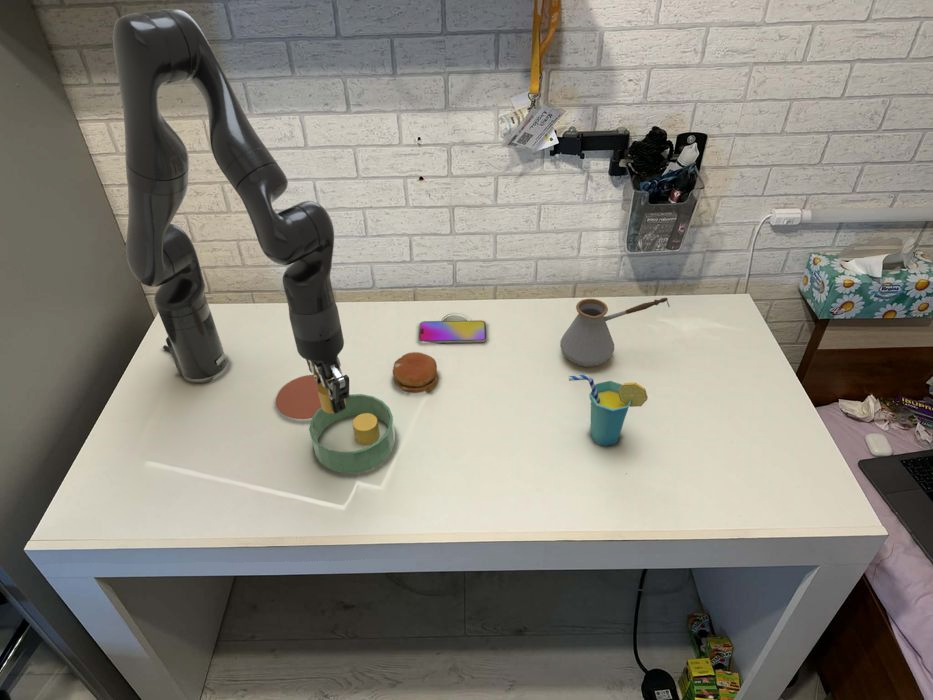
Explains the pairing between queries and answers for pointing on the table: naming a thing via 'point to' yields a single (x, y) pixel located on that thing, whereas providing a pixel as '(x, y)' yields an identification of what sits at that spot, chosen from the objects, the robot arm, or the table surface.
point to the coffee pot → (593, 332)
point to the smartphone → (452, 331)
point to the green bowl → (359, 458)
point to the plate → (299, 398)
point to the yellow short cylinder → (366, 428)
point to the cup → (611, 407)
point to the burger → (415, 372)
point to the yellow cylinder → (325, 398)
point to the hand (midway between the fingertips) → (333, 402)
